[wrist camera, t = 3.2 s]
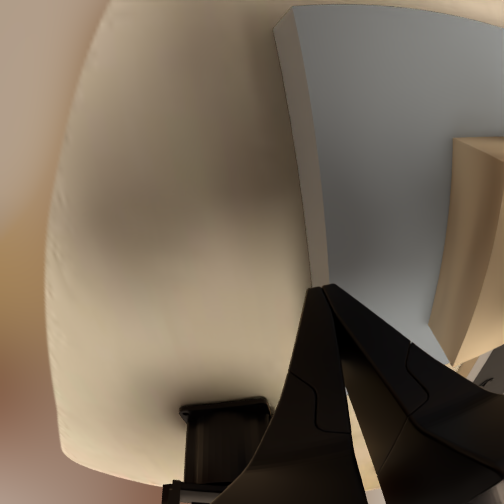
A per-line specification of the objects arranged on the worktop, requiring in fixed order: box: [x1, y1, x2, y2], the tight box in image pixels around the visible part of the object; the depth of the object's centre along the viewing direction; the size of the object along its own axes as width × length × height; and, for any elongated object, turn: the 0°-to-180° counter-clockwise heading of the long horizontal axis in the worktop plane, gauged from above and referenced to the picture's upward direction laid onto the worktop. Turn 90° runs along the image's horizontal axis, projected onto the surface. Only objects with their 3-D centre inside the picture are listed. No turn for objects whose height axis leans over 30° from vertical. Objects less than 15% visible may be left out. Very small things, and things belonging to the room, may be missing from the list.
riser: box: [273, 4, 504, 395], centre depth 11 cm, size 14×16×4 cm
